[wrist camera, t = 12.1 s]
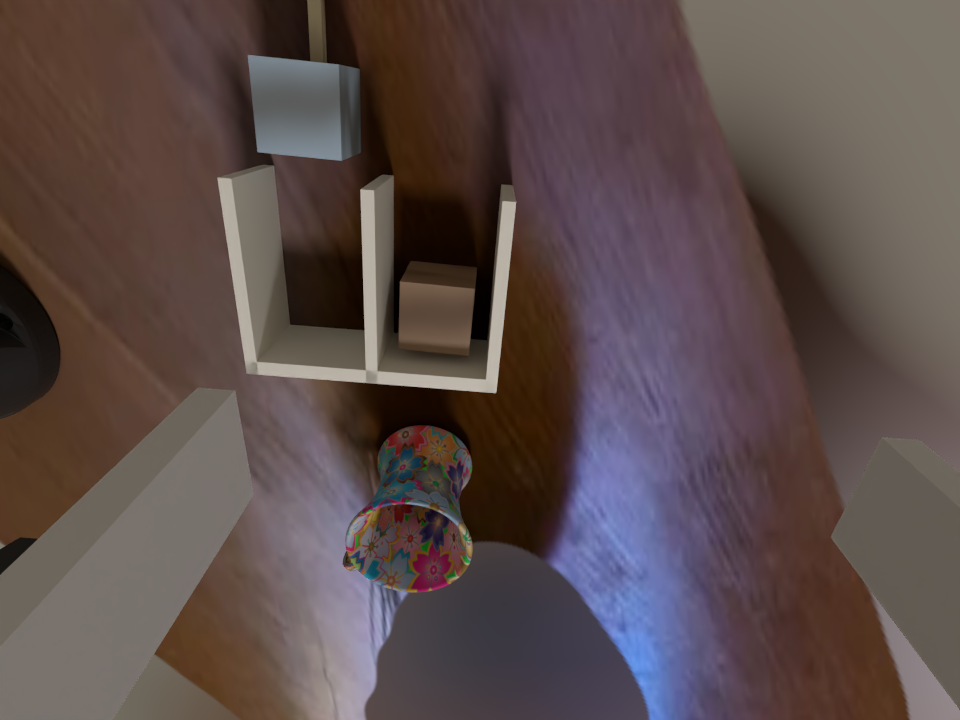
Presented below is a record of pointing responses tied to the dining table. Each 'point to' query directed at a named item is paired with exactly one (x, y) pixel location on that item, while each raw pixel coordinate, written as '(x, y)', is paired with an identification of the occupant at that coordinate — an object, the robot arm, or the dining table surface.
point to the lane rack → (376, 348)
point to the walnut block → (436, 308)
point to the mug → (414, 514)
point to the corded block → (307, 100)
